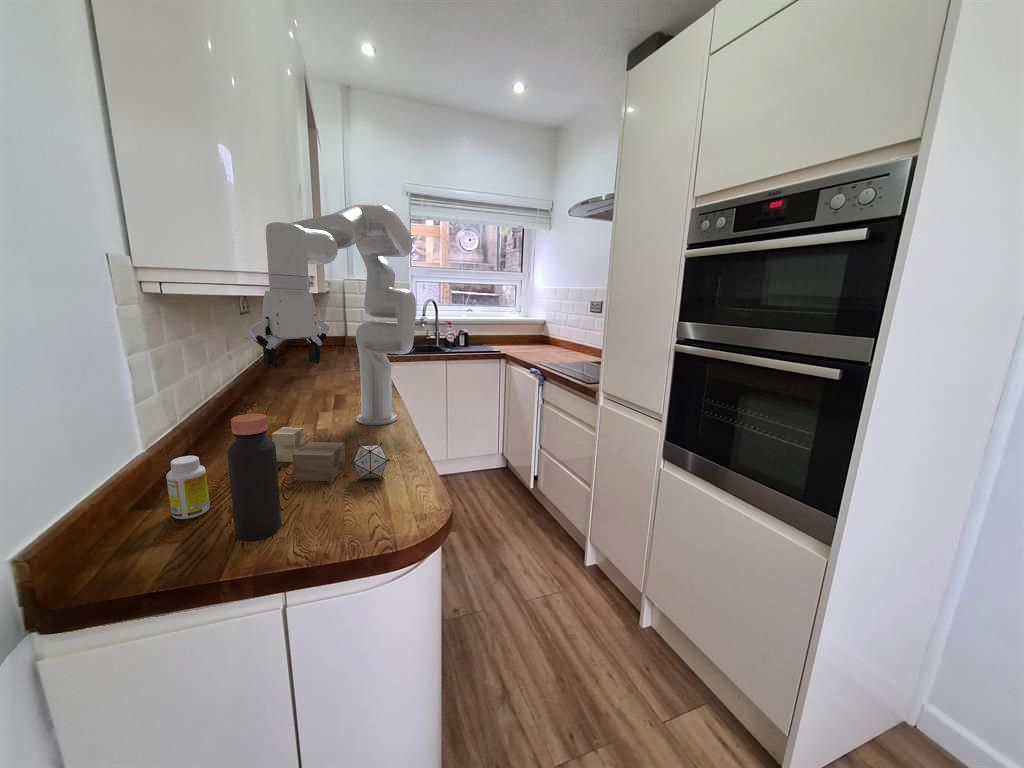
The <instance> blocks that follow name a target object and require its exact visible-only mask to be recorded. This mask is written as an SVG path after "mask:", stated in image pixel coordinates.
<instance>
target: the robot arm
mask: <svg viewBox="0 0 1024 768" xmlns="http://www.w3.org/2000/svg"><path fill="white" fill-rule="evenodd" d="M265 242H266V256H267V257H266V259H267V271H268V273H267V274H268V286H269V287H268V288H269V290H265V291H264V295H263V301H262V314H261V317H262V318H261V320H259V321H257V322H255V323H254V324H252V325H250V326H248V327H247V331H248V332H249V334H250V335H251V337H252V339H253V341H254V342H256V343H257V344H258V345H259V346H260V348H262V351H263V352H262V353H263V361H264V364H265V366H266V367H268V368H271V369H272V368H273V369H275V368H277V367H278V361H277V360H278V359H277V349H276V348H274V346H275V345H276V344H277V342H278V341H279V340H293V339H295V340H296V339H306V340H307V341H308V342H309V343H310V344H308V346H307V347H308V350H307V351H308V362H309V363H311V364H312V363H313V364H320V361H321V359H320V358H321V346H322V345H323V342H324V340H326V339H327V335H328V332H329V330H330V326H329V325H328V324H326V323H324V322H322V321H321V320H320V319H318V318H317V317H318V315H317V310H316V309H317V308H316V305H315V300H314V296H313V293H312V292H310V289H311V288H314V287H315V283H314V281H312V280H310V277H309V265H327V264H331V263H332V262H334V261H335V260H336V258H337V256H338V251H339V250H342V249H348V248H350V247H351V246H353V245H356V248H357V251H358V252H359V254H360V257H361V258H362V261H363V263H364V265H365V269H366V284H365V294H364V312H365V314H366V315H367V316H369V317H371V318H374V319H375V318H376V319H384V320H385V319H386V320H397V321H396V322H387V321H366V322H363V323H361V324H359V326H357V328H356V331H355V341H356V346H357V350H358V356H359V371H360V372H359V374H360V376H359V377H360V379H359V380H360V404H361V405H360V407H361V409H360V411H361V413H360V414H358V415H357V416H356V418H355V419H356V422H357V423H359V424H361V425H366V426H367V425H368V426H381V425H387V424H391V423H394V422H396V421H397V420H398V415H397V414H396V413H395V412H393V399H392V398H393V384H392V383H393V382H392V381H393V380H392V379H393V378H392V374H393V373H392V372H393V371H392V369H393V368H392V364H391V361H390V360H389V358H388V357H387V355H386V354H392V355H393V354H395V355H404V354H405V355H406V354H408V353H410V352H411V351H412V349H413V346H414V340H415V328H416V317H417V300H416V297H415V294H414V292H412V290H409V289H407V288H396V287H395V285H396V273H395V270H394V269H393V267H392V266H391V265H392V264H390V263H389V262H388V260H387V259H386V258H385V257H389V258H405V257H407V256H409V255H410V254H411V253H412V250H413V239H412V236H411V233H410V231H409V229H408V228H407V226H406V225H405V224H404V222H403V221H402V219H401V218H400V217H399V215H397V212H395V211H394V210H393V209H392V208H390V207H389V206H387V205H385V204H383V205H382V204H376V205H375V204H353V205H350V206H348V207H346V208H343V209H340V210H337V211H336V212H333V213H329V214H327V215H320V216H316V217H311V218H306V219H301V220H296V221H292V222H284V221H283V222H280V221H278V222H277V221H274V222H270V223H268V224H267V225H266V226H265ZM318 329H319V332H318ZM261 330H262V334H263V336H264V337H263V336H262V334H261V332H260V331H261Z"/></svg>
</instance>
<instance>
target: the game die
mask: <svg viewBox="0 0 1024 768" xmlns="http://www.w3.org/2000/svg"><path fill="white" fill-rule="evenodd" d="M382 445H383V441H381V442H380V443H379V444H375V445H374V444H373V445H371V444H370V445H361V444H360V443H358V442H357V445H356V446H357V447H358V448H357V452H356V454H355V456H354V459H353V461H350V462H349V465H353V467H354V469H355V472H356V474H357V475H358V480H357V482H358V483H360V482H361V480H363V479H364V480H365V479H374V478H375V479H376V478H380V480H383V481H384V477H383V474H384V471H385V469H386V466H387V464H388V462H391V459H390V458H387V456H386V454H385V452H384V449H383V446H382Z"/></svg>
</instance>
